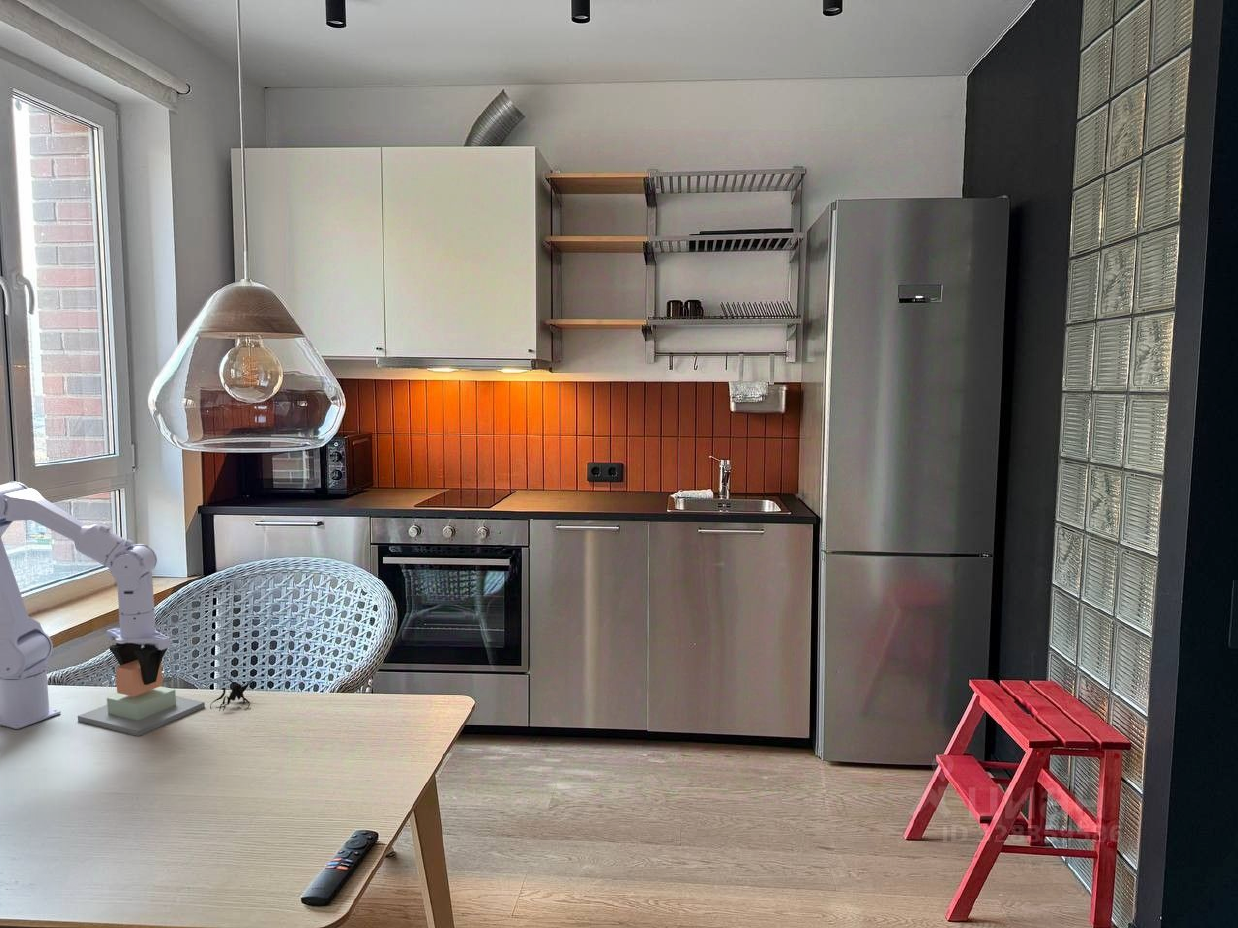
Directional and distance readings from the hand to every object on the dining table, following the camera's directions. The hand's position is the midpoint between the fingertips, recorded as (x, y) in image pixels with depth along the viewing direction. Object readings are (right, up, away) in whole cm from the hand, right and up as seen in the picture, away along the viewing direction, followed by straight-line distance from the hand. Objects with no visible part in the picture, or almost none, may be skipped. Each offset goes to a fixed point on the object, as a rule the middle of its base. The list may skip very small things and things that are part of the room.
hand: (140, 680), depth 155 cm
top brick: (0, -2, 0) cm, 2 cm away
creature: (+15, -6, +5) cm, 17 cm away
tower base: (0, -6, +1) cm, 6 cm away
